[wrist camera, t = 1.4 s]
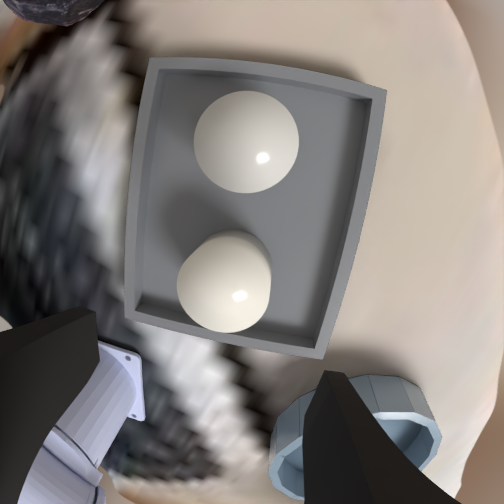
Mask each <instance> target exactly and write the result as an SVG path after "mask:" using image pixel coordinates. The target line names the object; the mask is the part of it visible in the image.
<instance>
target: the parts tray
mask: <svg viewBox="0 0 504 504" xmlns="http://www.w3.org/2000/svg"><path fill="white" fill-rule="evenodd" d="M238 91H255V92H260V93H264V94H267V95H269V96H271V97H273V98H275V99H276V100H278V101H279V102H280V103H281V104H283V105H284V106H285V107H286V109H287V110H288V111H289V112H290V114H291V115H292V117H293V119H294V121H295V123H296V126H297V129H298V135H299V148H298V153H297V157H296V159H295V162H294V164H293V166H292V168H291V169H290V171H289V172H288V173H287V175H286V176H285V177H284V178H283V179H282V180H280V181H279V182H278V183H277V184H275V185H273V186H272V187H270V188H268V189H265V190H262V191H259V192H254V193H237V192H232V191H229V190H226V189H224V188H222V187H220V186H218V185H216V184H215V183H214V182H212V181H211V180H210V179H209V178H208V177H207V176H206V175H205V174H204V172H203V171H202V169H201V168H200V166H199V164H198V162H197V159H196V156H195V152H194V133H195V129H196V126H197V123H198V121H199V119H200V117H201V116H202V114H203V113H204V111H205V110H206V109H207V108H208V107H209V106H210V105H211V104H212V103H213V102H215V101H216V100H218V99H219V98H221V97H223V96H225V95H227V94H230V93H233V92H238ZM386 94H387V90H385V89H382V88H378V87H375V86H372V85H368V84H365V83H361V82H357V81H354V80H350V79H346V78H342V77H338V76H333V75H329V74H325V73H320V72H315V71H310V70H305V69H300V68H294V67H288V66H282V65H275V64H268V63H260V62H252V61H243V60H232V59H218V58H198V57H150V59H149V64H148V68H147V72H146V77H145V82H144V87H143V92H142V97H141V102H140V108H139V113H138V119H137V125H136V132H135V139H134V146H133V153H132V161H131V170H130V180H129V190H128V202H127V216H126V233H125V263H124V301H125V318H128V319H131V320H135V321H138V322H142V323H146V324H149V325H153V326H157V327H160V328H164V329H168V330H172V331H176V332H180V333H184V334H188V335H192V336H197V337H201V338H205V339H210V340H214V341H219V342H224V343H228V344H233V345H238V346H243V347H248V348H253V349H259V350H264V351H270V352H276V353H282V354H288V355H294V356H300V357H307V358H314V359H321V360H323V357H324V355H325V352H326V349H327V346H328V343H329V340H330V337H331V334H332V331H333V328H334V325H335V322H336V319H337V316H338V313H339V310H340V306H341V303H342V300H343V297H344V293H345V290H346V287H347V283H348V280H349V276H350V273H351V269H352V265H353V262H354V258H355V254H356V250H357V247H358V243H359V239H360V235H361V231H362V226H363V222H364V218H365V214H366V209H367V205H368V200H369V196H370V191H371V186H372V181H373V176H374V171H375V166H376V160H377V155H378V149H379V143H380V137H381V130H382V124H383V117H384V110H385V102H386ZM228 229H235V230H241V231H245V232H248V233H250V234H252V235H254V236H255V237H256V238H258V239H259V240H260V241H261V242H262V243H263V244H264V245H265V247H266V248H267V250H268V252H269V254H270V257H271V260H272V279H271V287H270V296H269V302H268V306H267V308H266V310H265V312H264V314H263V315H262V317H261V318H260V319H259V320H258V321H257V322H256V323H255V324H253V325H252V326H250V327H249V328H246V329H244V330H241V331H238V332H231V333H223V332H216V331H213V330H210V329H207V328H205V327H203V326H201V325H199V324H198V323H196V322H195V321H194V320H193V319H192V318H191V317H190V316H189V315H188V314H187V313H186V312H185V310H184V309H183V307H182V305H181V303H180V301H179V298H178V294H177V277H178V274H179V271H180V269H181V266H182V265H183V263H184V262H185V261H186V260H187V259H188V257H189V256H190V255H191V254H192V253H193V252H194V251H195V250H196V249H197V248H198V247H199V246H200V245H201V244H202V243H203V242H204V241H205V240H206V239H207V238H208V237H210V236H211V235H213V234H214V233H217V232H219V231H222V230H228Z"/></svg>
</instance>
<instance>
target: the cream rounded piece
mask: <svg viewBox="0 0 504 504" xmlns="http://www.w3.org/2000/svg"><path fill="white" fill-rule="evenodd" d="M298 148H299V135H298V129H297V126H296V123H295V121H294V119H293V117H292V115H291V114H290V112H289V111H288V110H287V109H286V107H285V106H284V105H283V104H281V103H280V102H279V101H278V100H276V99H275V98H273V97H271V96H269V95H267V94H264V93H260V92H255V91H238V92H233V93H230V94H227V95H225V96H223V97H221V98H219V99H218V100H216V101H215V102H213V103H212V104H211V105H210V106H209V107H208V108H207V109H206V110H205V111H204V113H203V114H202V116H201V117H200V119H199V121H198V123H197V126H196V129H195V133H194V152H195V156H196V159H197V162H198V164H199V166H200V168H201V169H202V171H203V172H204V174H205V175H206V176H207V177H208V178H209V179H210V180H211V181H212V182H214V183H215V184H216V185H218V186H220V187H222V188H224V189H226V190H229V191H232V192H237V193H254V192H259V191H262V190H265V189H268V188H270V187H272V186H273V185H275V184H277V183H278V182H279V181H280V180H282V179H283V178H284V177H285V176H286V175H287V173H288V172H289V171H290V169H291V168H292V166H293V164H294V162H295V159H296V157H297V153H298Z"/></svg>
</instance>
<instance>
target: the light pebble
mask: <svg viewBox="0 0 504 504" xmlns="http://www.w3.org/2000/svg"><path fill="white" fill-rule="evenodd" d="M271 279H272V260H271V257H270V254H269V252H268V250H267V248H266V247H265V245H264V244H263V243H262V242H261V241H260V240H259V239H258V238H256V237H255V236H254V235H252V234H250V233H248V232H245V231H241V230H235V229H228V230H222V231H219V232H217V233H214V234H213V235H211V236H210V237H208V238H207V239H206V240H205V241H204V242H203V243H202V244H201V245H200V246H199V247H198V248H197V249H196V250H195V251H194V252H193V253H192V254H191V255H190V256H189V257H188V259H187V260H186V261H185V262H184V263H183V265H182V266H181V269H180V271H179V274H178V277H177V294H178V298H179V301H180V303H181V305H182V307H183V309H184V310H185V312H186V313H187V314H188V315H189V316H190V317H191V318H192V319H193V320H194V321H195V322H196V323H198V324H199V325H201V326H203V327H205V328H207V329H210V330H213V331H216V332H223V333H231V332H238V331H241V330H244V329H246V328H249V327H250V326H252V325H253V324H255V323H256V322H257V321H258V320H259V319H260V318H261V317H262V315H263V314H264V312H265V310H266V308H267V306H268V302H269V296H270V287H271Z"/></svg>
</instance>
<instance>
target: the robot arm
mask: <svg viewBox="0 0 504 504" xmlns="http://www.w3.org/2000/svg"><path fill="white" fill-rule="evenodd" d="M128 356H129V357H130V358H129V357H128ZM127 416H128V417H130V418H133V419H136V420H139V421H143V420H144V419H145V407H144V396H143V382H142V365H141V357H140V356H139V355H138V354H137V353H135V352H132V351H128V350H125V349H122V348H119V347H116V346H113V345H110V344H107V343H104V342H102V341H99V340H98V336H97V324H96V312H94V311H92V310H89V309H86V308H84V307H77V308H73V309H70V310H66V311H63V312H60V313H57V314H54V315H52V316H49V317H46V318H43V319H40V320H37V321H34V322H31V323H28V324H25V325H22V326H19V327H16V328H12V329H9V330H6V331H2V332H0V504H106V498H105V492H104V490H103V488H102V487H101V486H99V485H98V483H99V481H100V480H101V478H102V476H103V475H102V474H101V473H100V472H99V471H98V470H97V468H98V466H99V465H100V463H101V461H102V459H103V458H104V456H105V454H106V452H107V451H108V449H109V447H110V445H111V443H112V442H113V440H114V438H115V436H116V435H117V433H118V431H119V429H120V428H121V426H122V424H123V422H124V421H125V419H126V417H127ZM302 452H303V475H304V504H461V503H460V502H458V501H457V500H455V499H454V498H452V497H451V496H450V495H448V494H447V493H446V492H444V491H443V490H442V489H441V488H439V487H438V486H437V485H436V484H434V483H433V482H432V481H431V480H430V479H429V478H427V477H426V476H425V475H424V474H423V473H422V472H421V471H420V470H419V469H418V468H417V467H416V466H415V465H414V464H413V463H412V462H411V461H410V460H409V459H408V458H407V457H406V456H405V455H404V454H403V452H402V451H401V450H400V449H399V448H398V447H397V445H396V444H395V443H394V442H393V441H392V439H391V438H390V437H389V436H388V435H387V433H386V432H385V431H384V429H383V428H382V427H381V425H380V424H379V423H378V421H377V420H376V419H375V417H374V416H373V415H372V413H371V412H370V410H369V409H368V407H367V406H366V405H365V403H364V402H363V400H362V399H361V397H360V396H359V394H358V393H357V391H356V390H355V388H354V387H353V385H352V384H351V382H350V381H349V379H348V378H347V377H346V375H345V374H344V373H341V372H334V371H327V370H324V373H323V375H322V377H321V380H320V382H319V384H318V387H317V389H316V391H315V393H314V396H313V398H312V400H311V402H310V404H309V406H308V409H307V411H306V413H305V415H304V426H303V439H302Z"/></svg>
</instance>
